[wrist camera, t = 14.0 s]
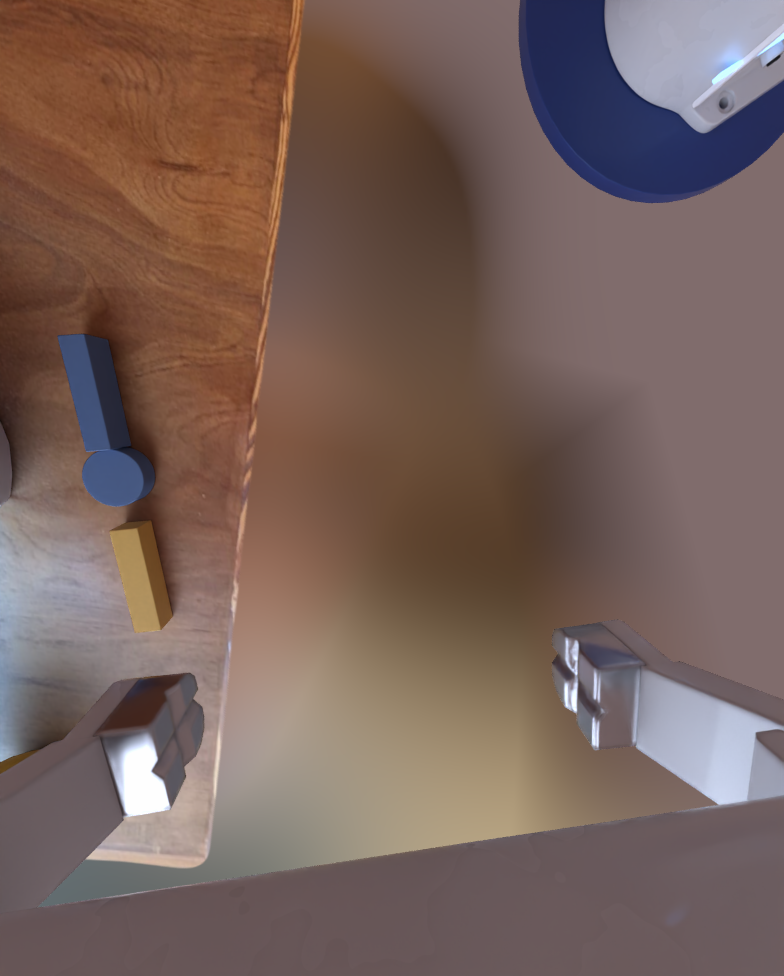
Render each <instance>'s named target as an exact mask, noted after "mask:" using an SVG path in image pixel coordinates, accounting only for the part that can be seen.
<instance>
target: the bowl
mask: <svg viewBox="0 0 784 976" xmlns="http://www.w3.org/2000/svg"><path fill="white" fill-rule="evenodd" d="M11 483H12V466H11V456H10V446H9V442H8V439H7V437H6V434H5V432H4V429H3V427H2V424H1V422H0V506H1V505H2V504H4V503H5V502H6V501H7V500H8V499H9V497H10V494H11Z"/></svg>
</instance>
